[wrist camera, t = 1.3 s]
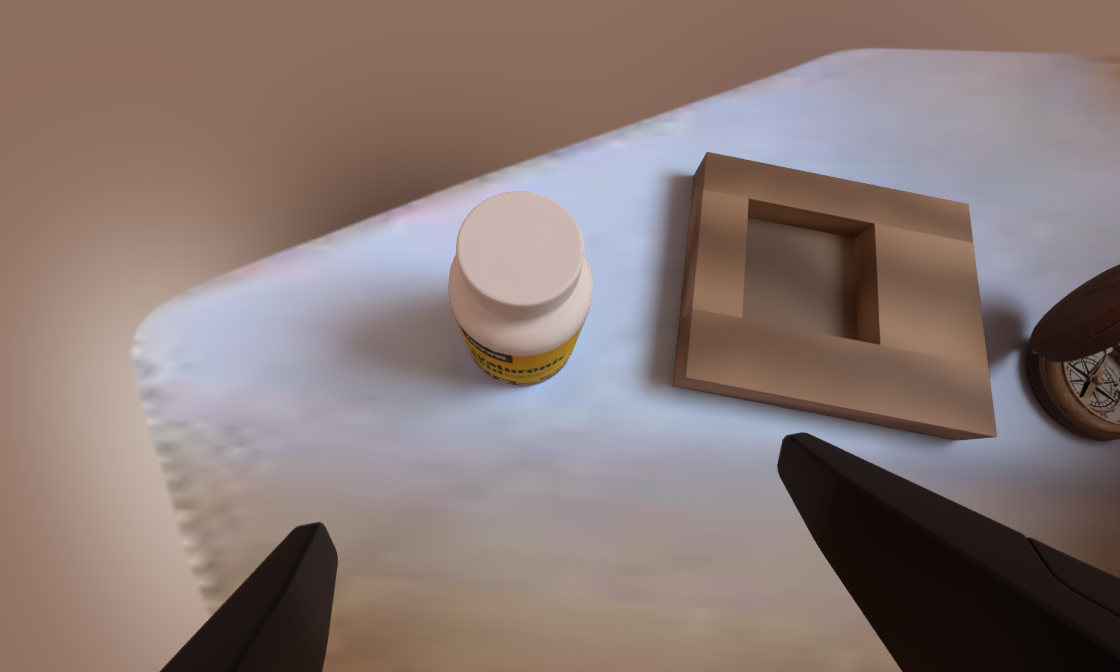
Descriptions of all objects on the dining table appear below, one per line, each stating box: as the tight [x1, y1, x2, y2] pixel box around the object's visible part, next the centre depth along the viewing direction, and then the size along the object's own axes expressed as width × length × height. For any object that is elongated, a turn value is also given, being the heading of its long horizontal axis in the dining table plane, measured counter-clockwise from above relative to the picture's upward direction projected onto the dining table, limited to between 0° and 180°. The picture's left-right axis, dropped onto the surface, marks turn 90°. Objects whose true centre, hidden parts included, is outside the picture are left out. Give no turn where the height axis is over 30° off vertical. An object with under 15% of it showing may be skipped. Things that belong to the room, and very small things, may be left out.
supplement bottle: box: [448, 191, 593, 387], centre depth 19 cm, size 5×5×10 cm
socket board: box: [673, 152, 997, 440], centre depth 24 cm, size 13×15×2 cm
